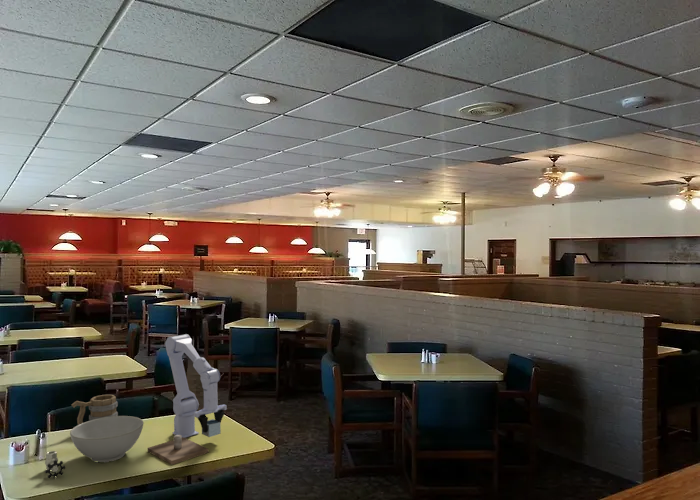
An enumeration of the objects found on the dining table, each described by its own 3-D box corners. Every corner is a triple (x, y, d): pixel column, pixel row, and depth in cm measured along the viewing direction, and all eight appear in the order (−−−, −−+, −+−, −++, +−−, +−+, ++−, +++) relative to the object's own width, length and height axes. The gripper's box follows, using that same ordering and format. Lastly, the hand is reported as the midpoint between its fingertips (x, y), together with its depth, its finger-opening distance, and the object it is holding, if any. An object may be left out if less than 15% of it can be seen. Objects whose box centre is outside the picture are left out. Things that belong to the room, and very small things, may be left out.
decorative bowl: (73, 450, 221) (72, 421, 221) (142, 440, 231) (142, 412, 231) (67, 475, 196) (66, 443, 196) (145, 463, 207) (144, 432, 207)
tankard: (113, 421, 257) (112, 390, 257) (122, 427, 248) (121, 395, 248) (67, 431, 244) (67, 398, 244) (76, 438, 234) (75, 404, 234)
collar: (201, 433, 228) (201, 422, 227) (213, 430, 232) (213, 419, 232) (209, 437, 224) (208, 425, 224) (220, 433, 228) (220, 422, 228)
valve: (40, 470, 202) (45, 481, 192) (40, 453, 202) (45, 463, 192) (60, 465, 206) (65, 476, 196) (60, 448, 206) (65, 458, 196)
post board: (147, 451, 218) (147, 435, 218) (183, 440, 230) (182, 425, 230) (171, 464, 205) (171, 447, 205) (208, 452, 216) (208, 436, 216)
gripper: (200, 404, 219) (201, 436, 220) (230, 396, 230) (230, 427, 230) (191, 400, 224) (192, 432, 224) (221, 393, 235) (221, 424, 235)
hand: (211, 430), depth 228 cm, fingers closed on collar, 6 cm apart
